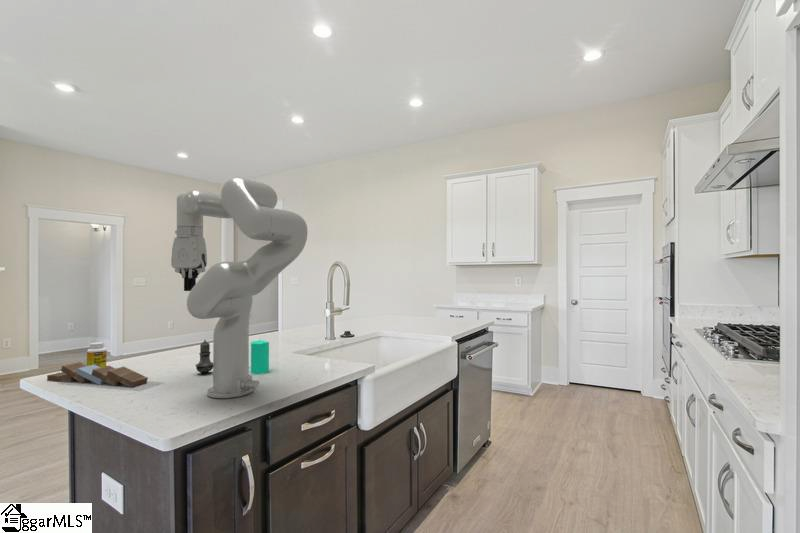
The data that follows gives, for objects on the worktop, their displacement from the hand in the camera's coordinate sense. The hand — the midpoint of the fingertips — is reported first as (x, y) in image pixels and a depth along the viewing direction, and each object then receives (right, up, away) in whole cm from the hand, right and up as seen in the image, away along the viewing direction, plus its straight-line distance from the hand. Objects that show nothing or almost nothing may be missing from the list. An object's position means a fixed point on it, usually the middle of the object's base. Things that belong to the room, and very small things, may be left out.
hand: (189, 290), depth 127 cm
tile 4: (-31, -28, -1) cm, 42 cm away
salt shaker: (0, -29, +9) cm, 31 cm away
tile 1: (-13, -28, -5) cm, 31 cm away
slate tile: (-24, -28, -2) cm, 37 cm away
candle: (+18, -29, +12) cm, 37 cm away
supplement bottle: (-40, -30, +13) cm, 51 cm away
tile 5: (-36, -28, +1) cm, 45 cm away
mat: (-23, -29, -3) cm, 37 cm away
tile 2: (-18, -28, -4) cm, 34 cm away
